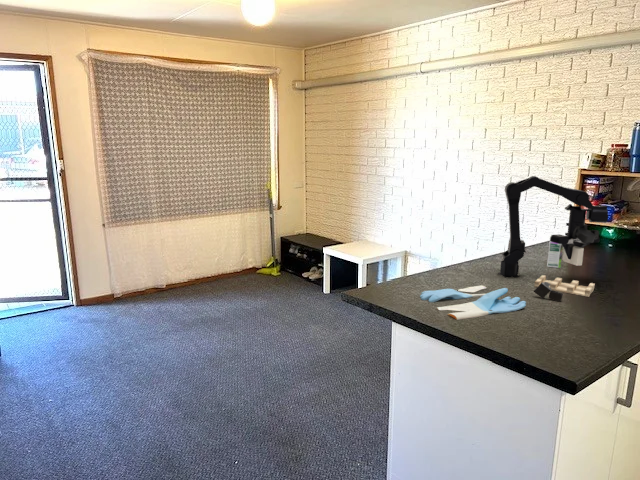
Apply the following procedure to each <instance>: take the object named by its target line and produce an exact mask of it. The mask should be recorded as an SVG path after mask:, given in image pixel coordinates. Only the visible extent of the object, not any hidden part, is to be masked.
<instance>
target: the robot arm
mask: <svg viewBox="0 0 640 480" xmlns="http://www.w3.org/2000/svg"><path fill="white" fill-rule="evenodd" d="M534 187H535V188H538V189H541V190H543V191H547V192H550V193H552V194H554V195H558V196H560V197H563V198H564V199H566V200H567V201H569V202H571V203H573V204H575V205H572V204H571V203H570V204H567V206H565V207H564V210H566V211H569V218H568V222H566V223H565V225H566V226H567V232H564V235H563V234H559V233H558V234H551V235H552V236H551V238H550V237H549V242H550V241H551V242H555V243H558V244H562V245H563V250H564V249H565V252H566V255H567V257H568V259H571V256H572V250H573V247H574V246H577V247H581V248H584V247H586V246H588V245H590V244H594V243H599V242H600V236H599V234H600V231H599V230H597V229H592V230H589V229H588V224H586V220H587V221H588V222H589V223H603V224H605V223H607V222H608V220H609V210H608V206H607V205H593V203H592V202H591V201H590V196H589V193H588V192H586V191H584V190H581V189H577V188H570V187H564V186H561V185H559V184H556V183H553V182H551V181H548V180H545V179H541V178H539V177H538V176H535V175H531V176H530V177H528V178H525V179H522V180H518V181H516V182H508V183H507V184H506V185H505V186H504V192H505V193H504V194H505V197H506V201H507V204H508V205H507V206H508V217H509V218H508V219H509V222H508V223H509V239H508V246H507V250H506V251H504V252H503V253H501V257H502V260H500V270H499V272H497V275H499V276H502V277H504V278H506V279H507V278H520V275H519V268H520V264H519V261H520V260H522V258H523V257H524V256H525V254H526V253H527V252H526V242H525V241H524V239H521V228H520V226H521V225H520V206H519V205H520V202H521V196H522V193H523V192H526V191H528V190H529V189H532V188H534ZM582 207H584V208H582Z"/></svg>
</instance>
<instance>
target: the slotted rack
mask: <svg viewBox="0 0 640 480" xmlns="http://www.w3.org/2000/svg"><path fill="white" fill-rule="evenodd" d="M542 282H543V283H544V282H548V283H549V284H550V286H549V288H551V290H553V291H556V292H559V293H567V294H573V295H577V296H582V297H589V298H590V296H591V295H592V293H593V292H594V290H595V284H596V283H593V282H590V283H589V284H588V286H586V285H579V284H580V281H579V280H574V279H572V281H571V282H570V283H568V282H563V278H562V277H555V279H554V280H550V279H547V275H545V274H544V275H542V274H541V275H540V277H538V278H537V279H536V280H535V281H534V285H533V288H537V287H538V286H539V285H540V284H541V283H542Z"/></svg>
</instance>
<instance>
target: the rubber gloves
mask: <svg viewBox="0 0 640 480" xmlns="http://www.w3.org/2000/svg"><path fill="white" fill-rule="evenodd" d="M483 289H484V290H485V289H487V287H486V286H485V285H481V284H480V285H475V286H469V287H464V288H460V289H453V288H443V289H442V288H441V289H436V290H424V291H422V292H421V295H419V298H420V300H421V301H428V302H429V303H436V302H438V301H440V300H461V299H470V298H477V300H474V301H469V302H466V303H465V302H464V303H460V304H452V305H445V306H439V307H438V306H437V307H436V310H439V311H447V310H448V311H457V312H450V313H447V314H446V315H447V316H448V317H451V318H453V319H455V320H456V321H459V320H466V319H472V318H478V317H483V316H484V317H485V316H488V315H492V314H504V313H510V312H515V311H518V310H521V309H525V307H526V306H527V301H526V300H521V298H520V297H518V296H515V297H512V298H511V296H506V297H504V298H502V299H498V298H501V297H502V296H504V295H506V294H507V293H508V291H509V289H508V287H503V288H499V289H496V290H492V291H490V292H487V293H475V292H478V291H481V290H483ZM457 290H458V291H457ZM465 292H467V293H465ZM472 293H473V294H472ZM478 297H479V298H478ZM458 311H459V312H458Z"/></svg>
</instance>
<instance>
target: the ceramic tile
mask: <svg viewBox="0 0 640 480" xmlns="http://www.w3.org/2000/svg"><path fill="white" fill-rule="evenodd" d="M584 250H585V249H584V247H583V248H581V247H577V246H574V247H573V250H572V256H571V259H568V257H567V255H566V252H565V249H564V248H563V251H562V261H563V262H565V263H568V264H570V265H574V266H576V267H577V266H583V260H584Z"/></svg>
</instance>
